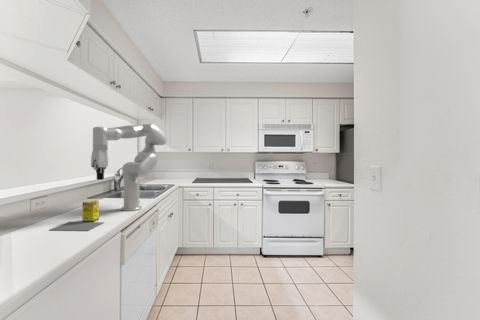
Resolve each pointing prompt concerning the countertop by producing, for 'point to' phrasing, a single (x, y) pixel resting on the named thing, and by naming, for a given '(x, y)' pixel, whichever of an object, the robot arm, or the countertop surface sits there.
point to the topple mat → (77, 226)
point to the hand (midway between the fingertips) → (100, 179)
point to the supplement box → (90, 211)
